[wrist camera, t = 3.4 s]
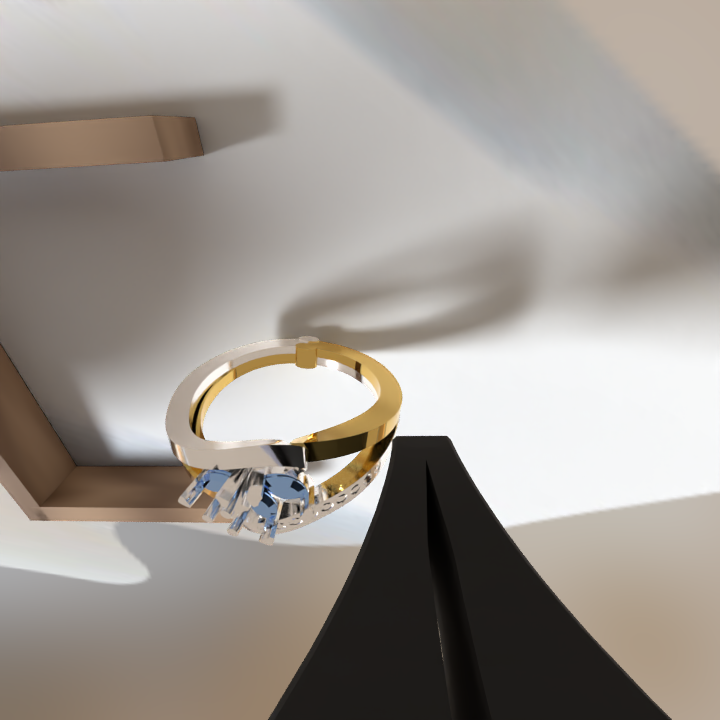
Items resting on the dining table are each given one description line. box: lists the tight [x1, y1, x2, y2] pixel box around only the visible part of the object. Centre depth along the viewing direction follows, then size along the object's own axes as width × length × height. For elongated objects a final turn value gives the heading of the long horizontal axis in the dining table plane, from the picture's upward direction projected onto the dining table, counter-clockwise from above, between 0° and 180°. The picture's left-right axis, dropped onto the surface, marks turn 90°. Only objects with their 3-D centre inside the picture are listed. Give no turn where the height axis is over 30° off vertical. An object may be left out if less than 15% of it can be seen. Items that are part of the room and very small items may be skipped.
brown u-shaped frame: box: [0, 115, 233, 523], centre depth 15 cm, size 12×16×2 cm
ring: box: [165, 336, 402, 546], centre depth 12 cm, size 7×3×8 cm, turn 85°
